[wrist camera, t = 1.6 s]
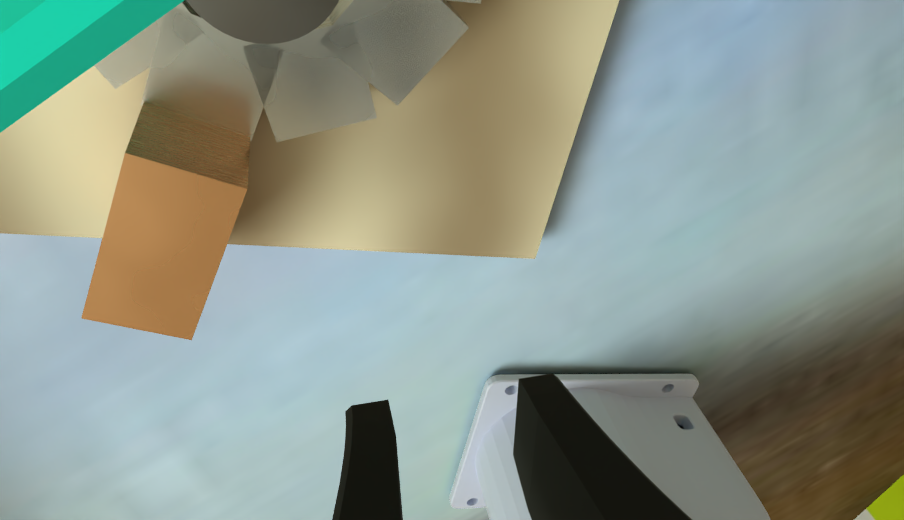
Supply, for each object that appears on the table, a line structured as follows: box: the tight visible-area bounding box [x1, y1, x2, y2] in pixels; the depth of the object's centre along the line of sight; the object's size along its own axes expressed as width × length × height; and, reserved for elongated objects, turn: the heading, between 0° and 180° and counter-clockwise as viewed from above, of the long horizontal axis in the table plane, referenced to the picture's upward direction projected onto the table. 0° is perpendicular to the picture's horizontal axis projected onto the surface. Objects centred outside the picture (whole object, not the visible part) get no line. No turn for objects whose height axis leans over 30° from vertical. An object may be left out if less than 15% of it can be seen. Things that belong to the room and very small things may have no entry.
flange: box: [82, 0, 481, 340], centre depth 14 cm, size 14×10×4 cm
